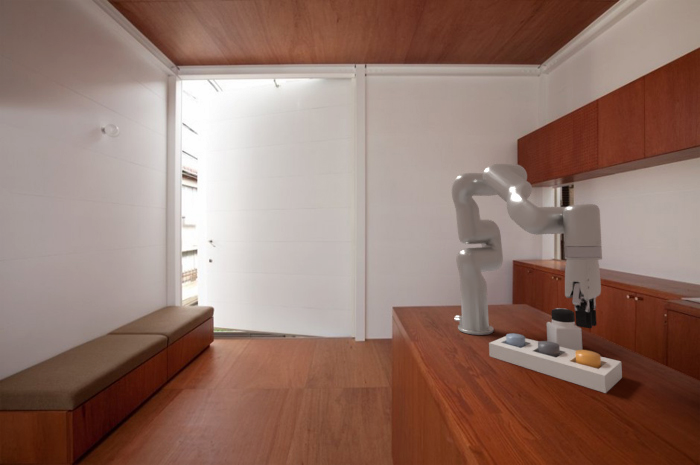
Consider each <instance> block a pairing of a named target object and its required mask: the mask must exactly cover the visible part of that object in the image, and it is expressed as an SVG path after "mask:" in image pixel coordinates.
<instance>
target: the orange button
mask: <svg viewBox="0 0 700 465" xmlns="http://www.w3.org/2000/svg"><path fill="white" fill-rule="evenodd" d="M575 353H576V363H578V364H582V365H586V366H589V367H593V368H597V369H599V368H600V367H601V357H602V356H601V354H600V353H598V352H595V351H592V350H588V349H583V350H577V351H576V352H575Z"/></svg>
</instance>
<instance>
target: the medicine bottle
mask: <svg viewBox="0 0 700 465" xmlns="http://www.w3.org/2000/svg"><path fill="white" fill-rule="evenodd" d="M550 313H551V321H547V322H546V337H547V338H546V339H547V340H546V341H550V342H554V343H557V344H559V347H563V348H568V349H572V350H576V351H577V350H584V349H583V333H582V332H583V331H582V327H579V326H576V314H575V312H574V311H573V310H571V309H570V308H569V309H567V308H560V307H559V308H558V307H557V308H554V309H552V310H551V312H550Z"/></svg>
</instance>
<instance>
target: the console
mask: <svg viewBox="0 0 700 465" xmlns="http://www.w3.org/2000/svg"><path fill="white" fill-rule="evenodd" d="M538 342H540V341H538V340H534V339H530V338H526V337H525V346H524V347H522V348H519V347H516V346H512V345H508V344H507V343H506V335H505V336H503V337H500V338H498V339H495V340H493V341H490V342H488V351H489V352H488V353H489V357H490V358H493V359H494V358H495V359H497V360H500V361H503V362H505V363H506V362H507V363H509V364H513V365H517V366H519V367H522V368H525V369H529V370H532V371H534V372H538V373H541V374H544V375H547V376H549V377H552V378H553V377H554V378H557V379H559V380H562V381H566V382H569V383H573V384H576V385H579V386H581V387H585V388H587V389H591V390H594V391H598V392H601V393H604V394H607V393H608V392H609V391H610V390H611V389H612V388H613V387H614V386H615V385H616V384H618V382H619V381H620V380H621V379H623V371H622V366H623V365H622V361H620V360H616V359H612V358H608V357H603V356H601V367H600V368H599V369H597V368H593V367H589V366H586V365H582V364H578V363H576V353H575V352H576V350H572V349H568V348H563V347H559V349H560V356H558V357H552V356H549V355H545V354H541V353H538Z"/></svg>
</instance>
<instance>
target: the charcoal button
mask: <svg viewBox="0 0 700 465" xmlns="http://www.w3.org/2000/svg"><path fill="white" fill-rule="evenodd" d="M538 353H541V354H545V355H549V356H552V357H558V356H560V349H559V344H557V343H554V342H550V341H547V340H541V341H539V342H538Z"/></svg>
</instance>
